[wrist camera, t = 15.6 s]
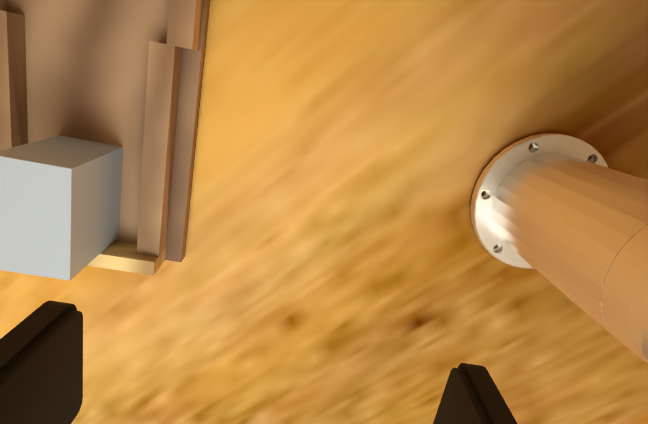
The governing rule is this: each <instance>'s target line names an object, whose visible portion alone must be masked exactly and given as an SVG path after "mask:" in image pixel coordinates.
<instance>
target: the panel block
mask: <svg viewBox="0 0 648 424" xmlns="http://www.w3.org/2000/svg"><path fill="white" fill-rule="evenodd" d="M122 165H123V147H120V146H114V145H109V144H104V143H98V142H93V141H87V140H82V139H76V138H71V137H66V136H60V135H58V136H54V137H51V138H47V139H43V140H39V141H35V142H31V143H27V144H24V145H20V146H16V147H12V148H8V149H4V150H0V270H3V271H10V272H17V273H23V274H30V275H37V276H43V277H50V278H57V279H64V280H71V279H72V278H73V277H74V276H76V275H77V274H78V273H79V272H80V271H81V270H82V269H83V268H84V267H86V266H87V265H88V264H89V263H90V262H91V261H92V260H93V259H95V258H96V257H97V256H98V255H99V254H100V253H101V252H102V251H104V250H105V249H106V248H107V247H108V246H109V245H110V244H111V243H112V242H114V241H115V240H116V239H117V238H118V237H119V222H120V203H121V184H122Z"/></svg>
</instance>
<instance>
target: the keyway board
mask: <svg viewBox="0 0 648 424" xmlns="http://www.w3.org/2000/svg"><path fill="white" fill-rule="evenodd" d="M209 5H210V0H0V150H4V149H8V148H12V147H16V146H20V145H24V144H27V143H31V142H35V141H39V140H43V139H47V138H51V137H54V136H58V135H60V136H66V137H71V138H76V139H82V140H87V141H93V142H98V143H104V144H109V145H114V146H120V147H123V165H122V184H121V203H120V222H119V237H118V238H117V239H116V240H115V241H114V242H112V243H111V244H110V245H109V246H108V247H107V248H106V249H105V250H104V251H102V252H101V253H100V254H99V255H98V256H97V257H96V258H95V259H93V260H92V261H91V262H90V263H89V264H88V265H87V266H94V267H101V268H108V269H114V270H121V271H128V272H135V273H142V274H148V275H154V274H155V273H156V271H157V270H158V269H159V267H160V266H161V265H162V263H163V262H164V261H165V260H170V261H177V262H181V261H182V260H183V258H184V257H185V247H186V237H187V227H188V217H189V207H190V197H191V187H192V177H193V167H194V157H195V146H196V136H197V126H198V116H199V106H200V96H201V86H202V76H203V66H204V56H205V45H206V35H207V25H208V15H209Z"/></svg>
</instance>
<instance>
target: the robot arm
mask: <svg viewBox="0 0 648 424" xmlns="http://www.w3.org/2000/svg"><path fill="white" fill-rule="evenodd" d="M530 144H531V146H530V148H529V145H530ZM483 191H484V194H482V195H481V193H482V192H483ZM470 210H471V222H472V226H473V230H474V232H475V234H476V236H477V238H478V240H479V242H480V243H481V244H482V245H483V247H484V248H485V249H486V250H487V251H488V252H489V253H490V254H491V255H492V256H494V257H495V258H497V259H498V260H500V261H501V262H503V263H506V264H508V265H511V266H514V267H520V268H534V269H535V270H536V271H537V272H539V273H540V274H541V275H542V276H543V277H544V278H546V279H547V280H548V281H549V282H550V283H552V284H553V285H554V286H555V287H556V288H557V289H559V290H560V291H561V292H562V293H563V294H564V295H566V296H567V297H568V298H569V299H570V300H571V301H573V302H574V303H575V304H576V305H577V306H578V307H580V308H581V309H582V310H583V311H584V312H585V313H587V314H588V315H589V316H590V317H591V318H593V319H594V320H595V321H596V322H597V323H598V324H600V325H601V326H602V327H603V328H604V329H605V330H607V331H608V332H609V333H610V334H611V335H612V336H614V337H615V338H616V339H617V340H618V341H620V342H621V343H622V344H623V345H625V346H626V347H627V348H628V349H629V350H631V351H632V352H633V353H634V354H636V355H637V356H638V357H640V358H641V359H643V360H644V361H645V362H647V363H648V180H645V179H642V178H639V177H636V176H633V175H630V174H626V173H623V172H620V171H617V170H614V169H611V168H608V165H607V163H606V161H605V160H604V158H603V157H602V155H601V154H600V153H599V152H598V151H597V150H596V149H595V148H594V147H593V146H592V145H590V144H588V143H587V142H585V141H583V140H581V139H578V138H575V137H572V136H569V135H563V134H558V133H543V134H538V135H533V136H529V137H526V138H524V139H521V140H519V141H516V142H515V143H513V144H511V145H510V146H508V147H506V148H505V149H503V150H502V151H501V152H500V153H499V154H498V155H496V156H495V157H494V158H493V159H492V160H491V162H490V163H489V164H488V165H487V166H486V168H485V169H484V170H483V172H482V174H481V175H480V177H479V179H478V181H477V183H476V186H475V188H474V191H473V194H472V200H471V206H470ZM495 245H496V246H495ZM494 246H495V247H494ZM82 398H83V315H82V312H80V311H77V308H76V306H75V305H74V304H69V303H62V302H56V301H47V302H45V303H44V304H43V305H41V306H40V307H39V308H38V309H36V310H35V311H34V312H33V313H32V314H30V315H29V316H28V317H27V318H26V319H24V320H23V321H22V322H21V323H20V324H18V325H17V326H16V327H15V328H13V329H12V330H11V331H10V332H9V333H7V334H6V335H5V336H4V337H3V338H1V339H0V424H71V423H72V421H73V420H74V419H75V417H76V416H77V414H78V412H79V410H80V407H81V404H82ZM433 424H517V422H516V420H515V419H514V417H513V415H512V413H511V412H510V410H509V408H508V406H507V405H506V403H505V401H504V399H503V397H502V396H501V394H500V392H499V390H498V389H497V387H496V385H495V383H494V382H493V380H492V378H491V376H490V374H489V373H488V371H487V369H486V368H485V367H483V366H479V365H472V364H466V363H461V364H460V365H459V366H458V368H453V369H452V370H451V372H450V375H449V378H448V381H447V384H446V387H445V390H444V393H443V396H442V399H441V402H440V405H439V408H438V411H437V414H436V417H435V420H434V423H433Z"/></svg>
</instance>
